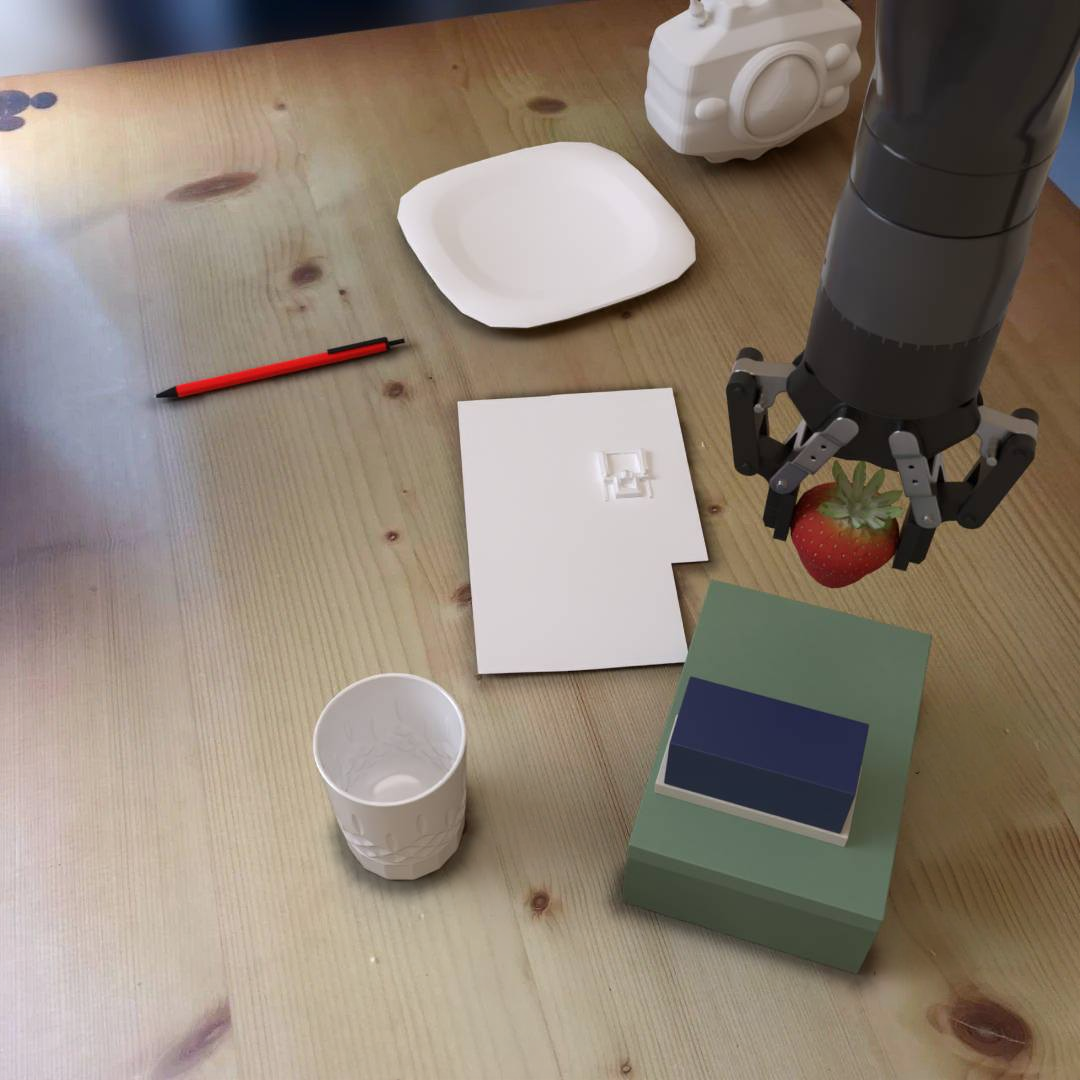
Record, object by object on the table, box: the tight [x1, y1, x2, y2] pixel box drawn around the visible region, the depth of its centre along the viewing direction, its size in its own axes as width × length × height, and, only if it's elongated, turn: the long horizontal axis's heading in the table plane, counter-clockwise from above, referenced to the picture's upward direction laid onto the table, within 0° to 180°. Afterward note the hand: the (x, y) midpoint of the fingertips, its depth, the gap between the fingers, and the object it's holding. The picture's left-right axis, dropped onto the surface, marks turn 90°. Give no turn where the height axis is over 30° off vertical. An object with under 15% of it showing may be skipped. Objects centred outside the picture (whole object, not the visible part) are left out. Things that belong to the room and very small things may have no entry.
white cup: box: [312, 672, 468, 881], centre depth 71 cm, size 8×8×10 cm
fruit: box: [789, 459, 906, 589], centre depth 65 cm, size 5×5×8 cm
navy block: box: [654, 676, 869, 847], centre depth 67 cm, size 10×4×5 cm, turn 72°
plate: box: [396, 141, 697, 330], centre depth 108 cm, size 22×22×2 cm
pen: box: [152, 336, 406, 399], centre depth 98 cm, size 1×19×1 cm, turn 108°
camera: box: [643, 0, 862, 164], centre depth 110 cm, size 11×18×16 cm, turn 114°
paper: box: [456, 387, 709, 675], centre depth 88 cm, size 25×17×1 cm
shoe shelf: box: [621, 578, 933, 975], centre depth 73 cm, size 13×18×7 cm
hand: (842, 541), depth 65 cm, fingers closed on fruit, 5 cm apart
